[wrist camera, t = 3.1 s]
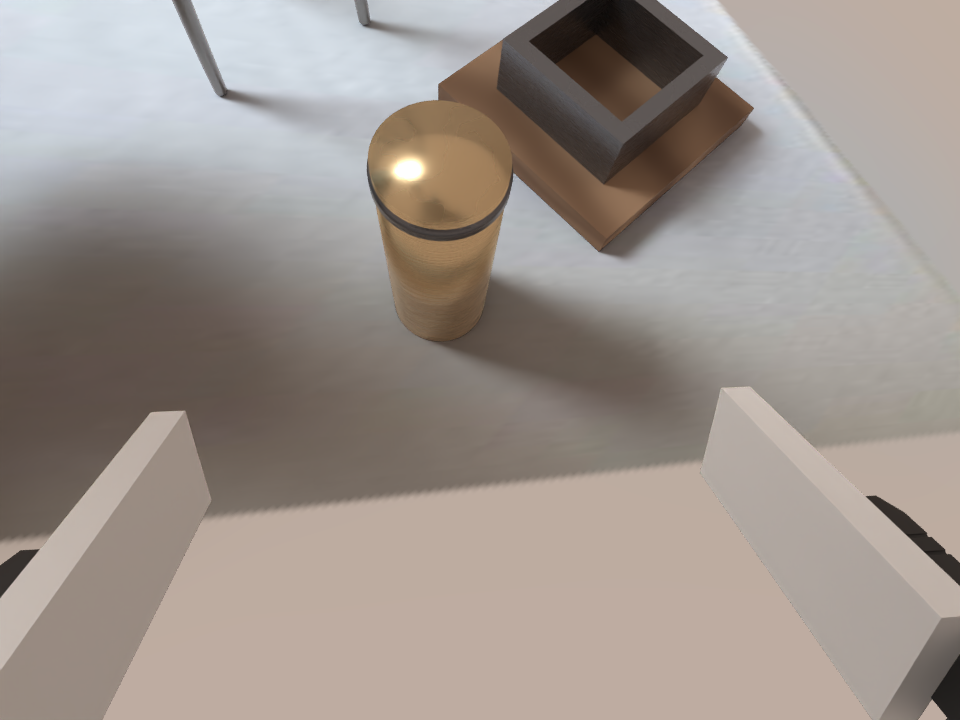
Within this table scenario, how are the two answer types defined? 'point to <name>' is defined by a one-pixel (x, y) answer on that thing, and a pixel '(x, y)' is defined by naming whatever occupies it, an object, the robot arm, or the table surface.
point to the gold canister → (439, 211)
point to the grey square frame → (579, 116)
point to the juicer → (202, 47)
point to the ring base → (622, 93)
